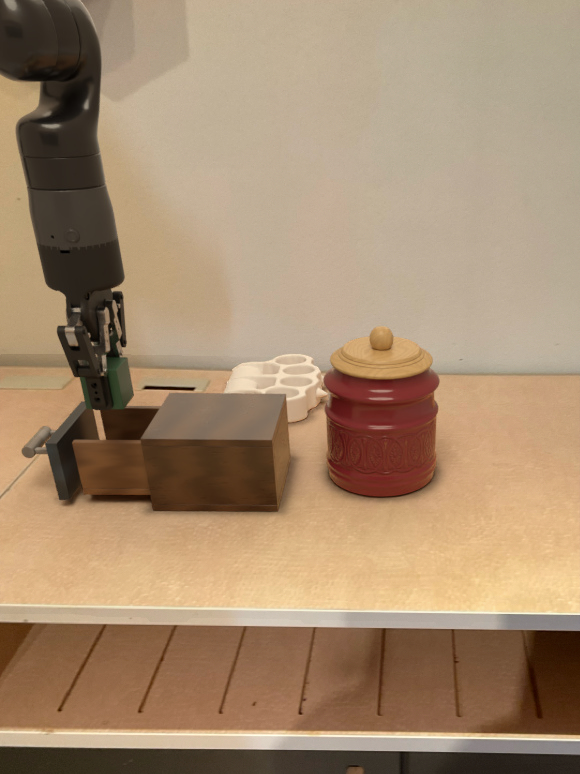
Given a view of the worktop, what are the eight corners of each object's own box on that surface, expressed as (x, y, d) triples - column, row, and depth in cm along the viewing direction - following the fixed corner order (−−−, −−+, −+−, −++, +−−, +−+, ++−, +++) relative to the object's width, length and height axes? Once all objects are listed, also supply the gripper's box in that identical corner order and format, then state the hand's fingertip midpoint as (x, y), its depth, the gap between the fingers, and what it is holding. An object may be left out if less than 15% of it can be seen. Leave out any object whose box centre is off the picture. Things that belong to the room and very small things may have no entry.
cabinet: (153, 510, 86) (139, 438, 82) (179, 458, 97) (169, 392, 92) (277, 511, 86) (271, 439, 82) (290, 459, 97) (286, 393, 92)
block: (86, 409, 84) (77, 369, 82) (98, 395, 88) (90, 356, 85) (123, 409, 84) (116, 370, 82) (134, 395, 88) (127, 357, 85)
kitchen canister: (382, 511, 87) (383, 355, 77) (304, 473, 94) (295, 326, 85) (458, 472, 95) (466, 326, 85) (380, 439, 102) (380, 302, 93)
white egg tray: (237, 374, 121) (333, 374, 121) (217, 423, 106) (327, 423, 106) (235, 353, 119) (332, 353, 120) (214, 399, 104) (326, 399, 104)
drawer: (20, 500, 86) (4, 443, 82) (57, 453, 96) (44, 400, 92) (174, 501, 86) (165, 444, 83) (196, 454, 96) (189, 402, 92)
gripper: (63, 220, 83) (95, 376, 92) (7, 251, 71) (51, 427, 80) (135, 221, 83) (160, 377, 92) (92, 252, 71) (125, 428, 80)
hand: (109, 399), depth 86 cm, fingers closed on block, 4 cm apart
